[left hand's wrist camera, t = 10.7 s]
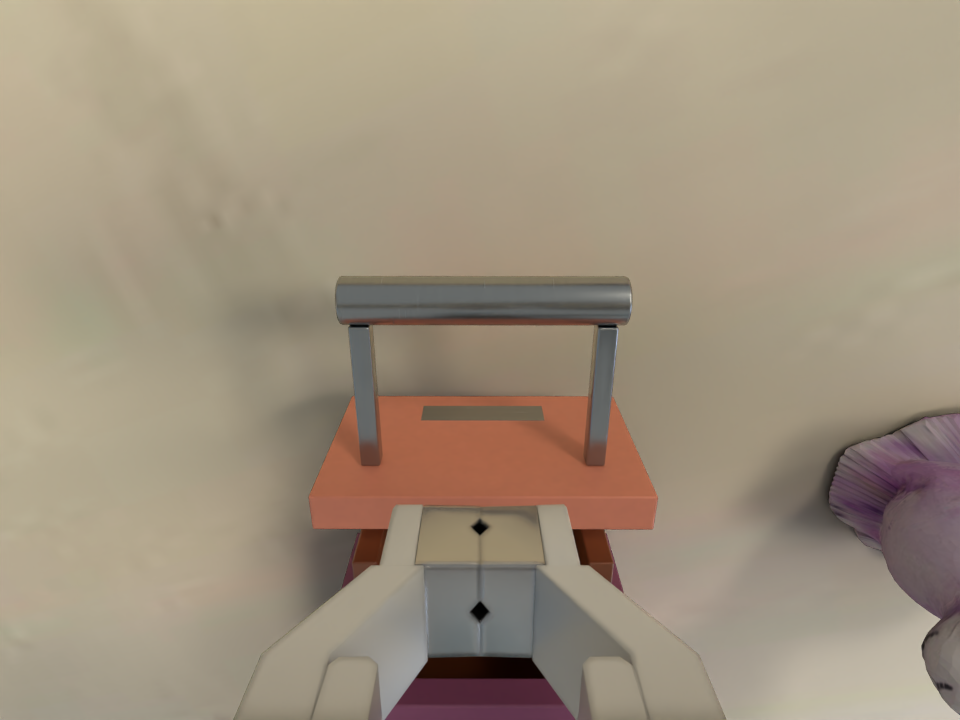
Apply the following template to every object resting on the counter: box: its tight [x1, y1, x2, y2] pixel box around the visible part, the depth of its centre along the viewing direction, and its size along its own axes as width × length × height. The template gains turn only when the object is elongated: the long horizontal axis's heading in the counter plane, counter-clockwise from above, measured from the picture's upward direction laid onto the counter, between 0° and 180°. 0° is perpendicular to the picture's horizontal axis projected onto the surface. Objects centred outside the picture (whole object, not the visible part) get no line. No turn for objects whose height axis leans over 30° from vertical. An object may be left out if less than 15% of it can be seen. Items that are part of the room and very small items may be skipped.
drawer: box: [309, 276, 658, 679], centre depth 22 cm, size 25×10×6 cm, turn 0°
